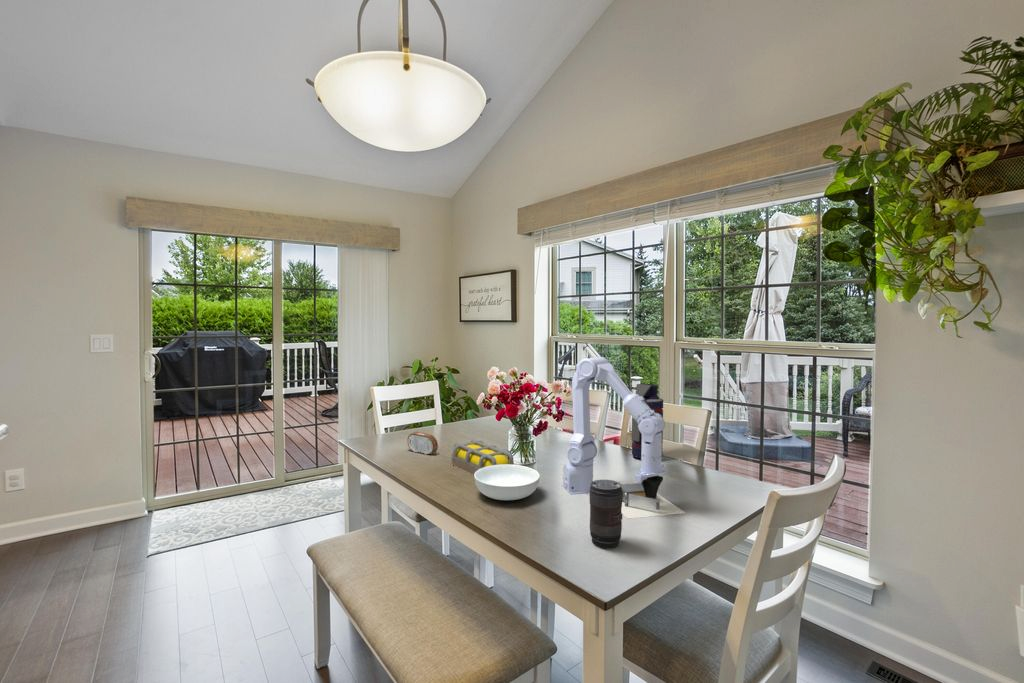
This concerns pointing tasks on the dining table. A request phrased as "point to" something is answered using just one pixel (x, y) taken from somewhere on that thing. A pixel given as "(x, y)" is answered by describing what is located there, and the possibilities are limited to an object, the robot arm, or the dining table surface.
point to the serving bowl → (506, 481)
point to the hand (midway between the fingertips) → (650, 500)
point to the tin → (422, 442)
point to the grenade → (654, 403)
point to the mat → (665, 509)
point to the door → (642, 502)
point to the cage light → (479, 456)
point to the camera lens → (605, 513)
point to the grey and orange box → (632, 490)
